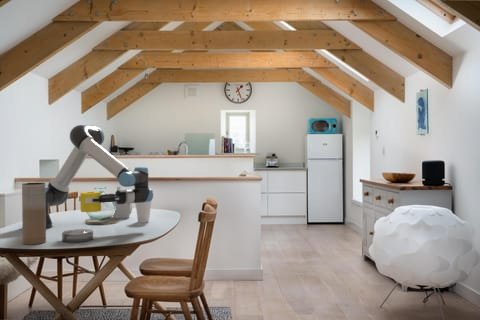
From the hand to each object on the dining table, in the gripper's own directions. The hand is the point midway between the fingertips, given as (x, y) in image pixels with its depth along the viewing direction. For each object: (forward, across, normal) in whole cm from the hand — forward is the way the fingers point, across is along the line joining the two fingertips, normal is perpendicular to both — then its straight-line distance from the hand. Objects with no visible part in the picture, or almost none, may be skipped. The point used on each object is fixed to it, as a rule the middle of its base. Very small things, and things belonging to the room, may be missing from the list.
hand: (82, 199), depth 230 cm
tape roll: (-4, 0, -6) cm, 8 cm away
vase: (+24, -6, -18) cm, 31 cm away
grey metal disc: (+6, -11, -18) cm, 22 cm away
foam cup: (-42, +20, -18) cm, 50 cm away
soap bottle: (-36, +45, -18) cm, 61 cm away
